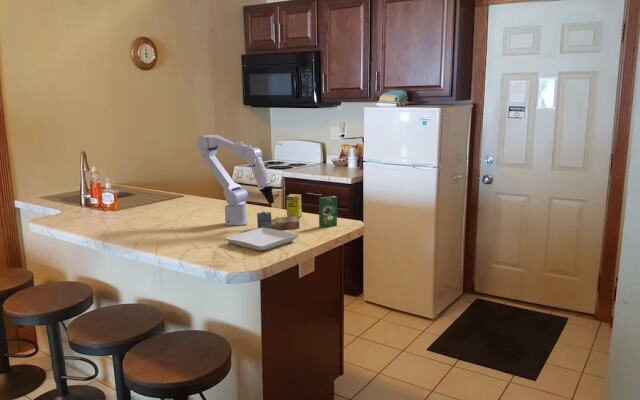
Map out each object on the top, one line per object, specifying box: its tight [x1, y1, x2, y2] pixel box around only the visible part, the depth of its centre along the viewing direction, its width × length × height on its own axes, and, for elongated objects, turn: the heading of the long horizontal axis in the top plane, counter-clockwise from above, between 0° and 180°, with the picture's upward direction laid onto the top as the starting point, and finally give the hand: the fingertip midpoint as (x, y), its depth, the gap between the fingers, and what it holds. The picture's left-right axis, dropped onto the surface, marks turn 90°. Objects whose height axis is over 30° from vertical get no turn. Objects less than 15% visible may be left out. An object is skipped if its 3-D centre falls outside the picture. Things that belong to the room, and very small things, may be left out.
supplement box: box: [285, 193, 303, 220], centre depth 241 cm, size 6×6×11 cm
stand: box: [275, 216, 300, 230], centre depth 227 cm, size 10×10×3 cm
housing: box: [256, 210, 273, 229], centre depth 223 cm, size 6×4×8 cm, turn 96°
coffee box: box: [318, 195, 338, 228], centre depth 225 cm, size 8×3×13 cm, turn 119°
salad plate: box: [225, 228, 299, 251], centre depth 202 cm, size 21×21×3 cm
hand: (271, 203), depth 223 cm, fingers open, 7 cm apart
